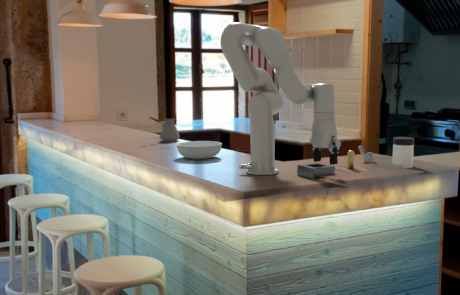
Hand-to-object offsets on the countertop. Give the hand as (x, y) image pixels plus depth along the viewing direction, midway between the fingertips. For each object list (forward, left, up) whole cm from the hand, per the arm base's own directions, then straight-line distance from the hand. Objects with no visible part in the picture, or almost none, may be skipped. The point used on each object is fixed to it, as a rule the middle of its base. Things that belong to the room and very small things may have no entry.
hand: (325, 162), depth 205 cm
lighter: (+33, +15, -6) cm, 37 cm away
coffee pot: (-14, +130, -6) cm, 131 cm away
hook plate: (+16, +5, -6) cm, 18 cm away
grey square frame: (-1, +5, -6) cm, 8 cm away
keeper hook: (+16, +5, -5) cm, 18 cm away
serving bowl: (-21, +67, -6) cm, 70 cm away
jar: (+42, +3, -6) cm, 43 cm away
